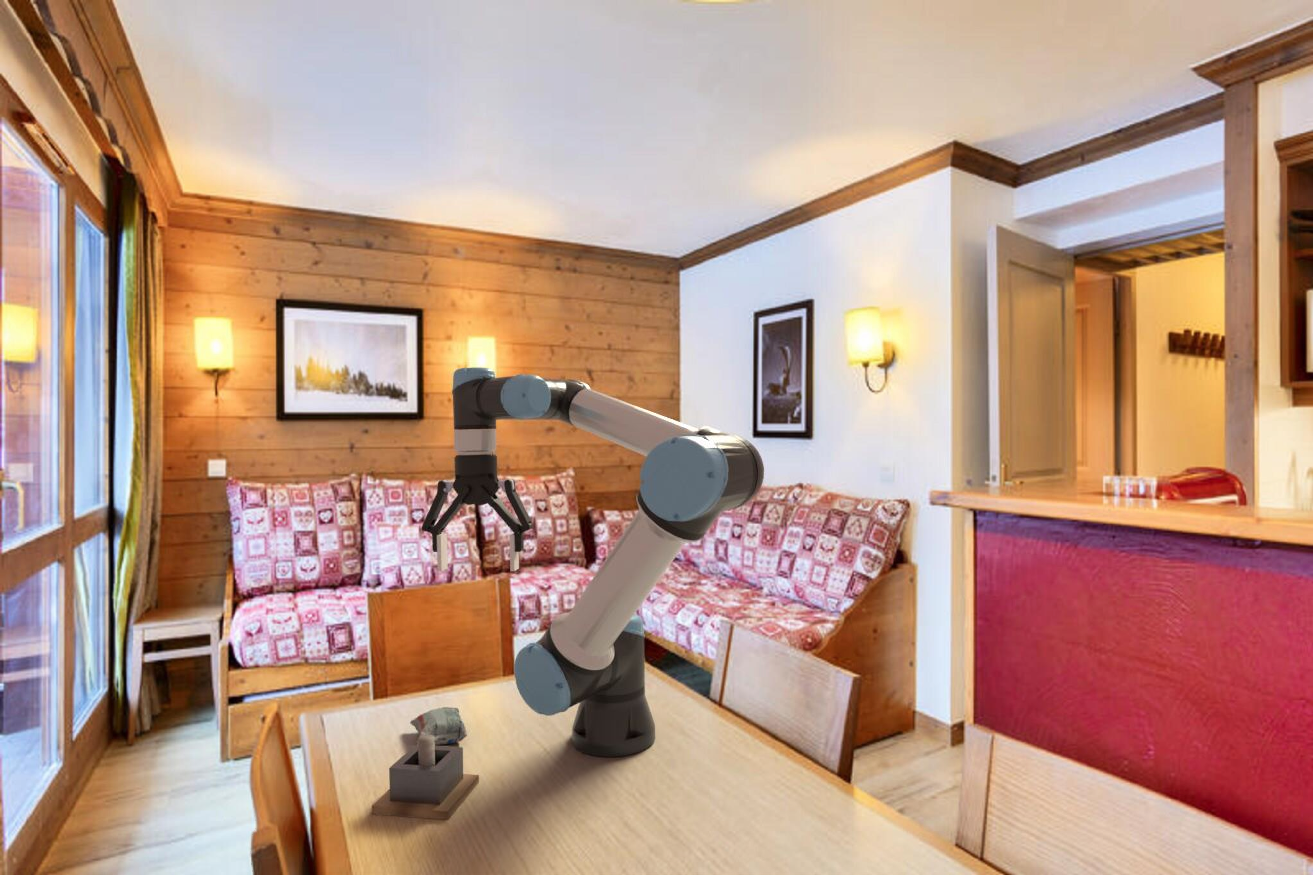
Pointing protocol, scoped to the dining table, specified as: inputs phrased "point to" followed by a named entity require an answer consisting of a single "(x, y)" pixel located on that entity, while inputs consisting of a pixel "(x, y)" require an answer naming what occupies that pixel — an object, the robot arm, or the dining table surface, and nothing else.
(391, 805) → the stand
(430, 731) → the packaged food
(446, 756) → the link
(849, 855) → the dining table surface
